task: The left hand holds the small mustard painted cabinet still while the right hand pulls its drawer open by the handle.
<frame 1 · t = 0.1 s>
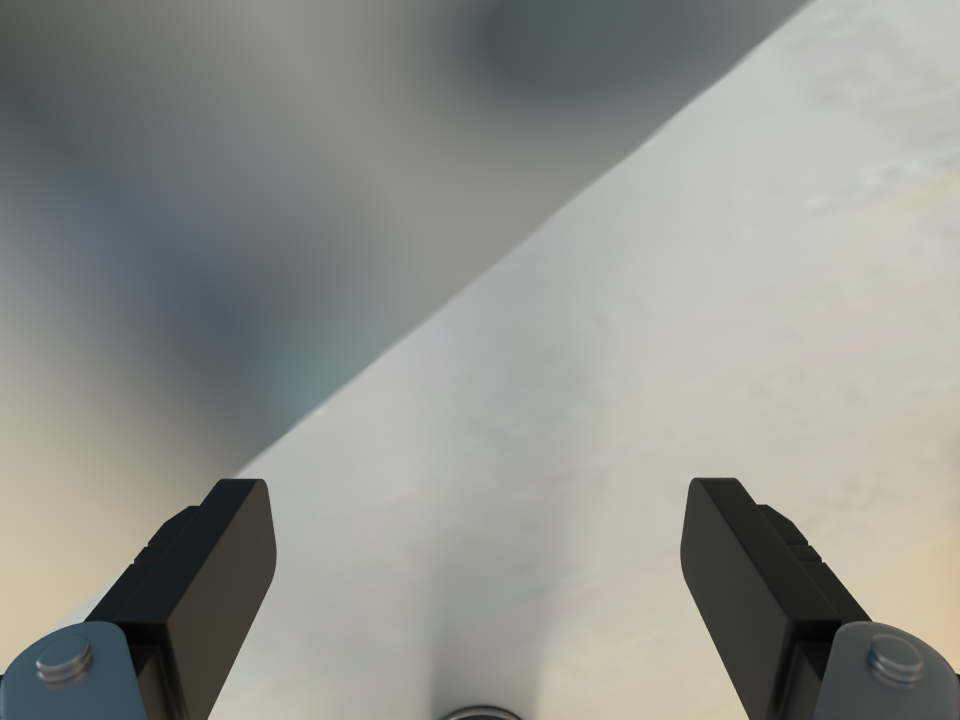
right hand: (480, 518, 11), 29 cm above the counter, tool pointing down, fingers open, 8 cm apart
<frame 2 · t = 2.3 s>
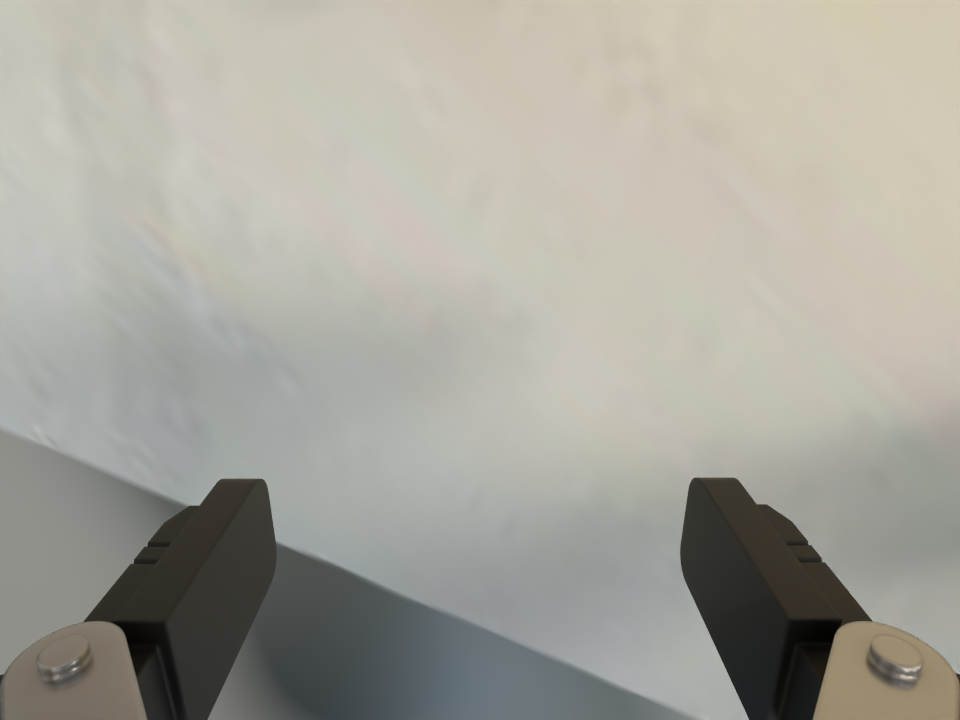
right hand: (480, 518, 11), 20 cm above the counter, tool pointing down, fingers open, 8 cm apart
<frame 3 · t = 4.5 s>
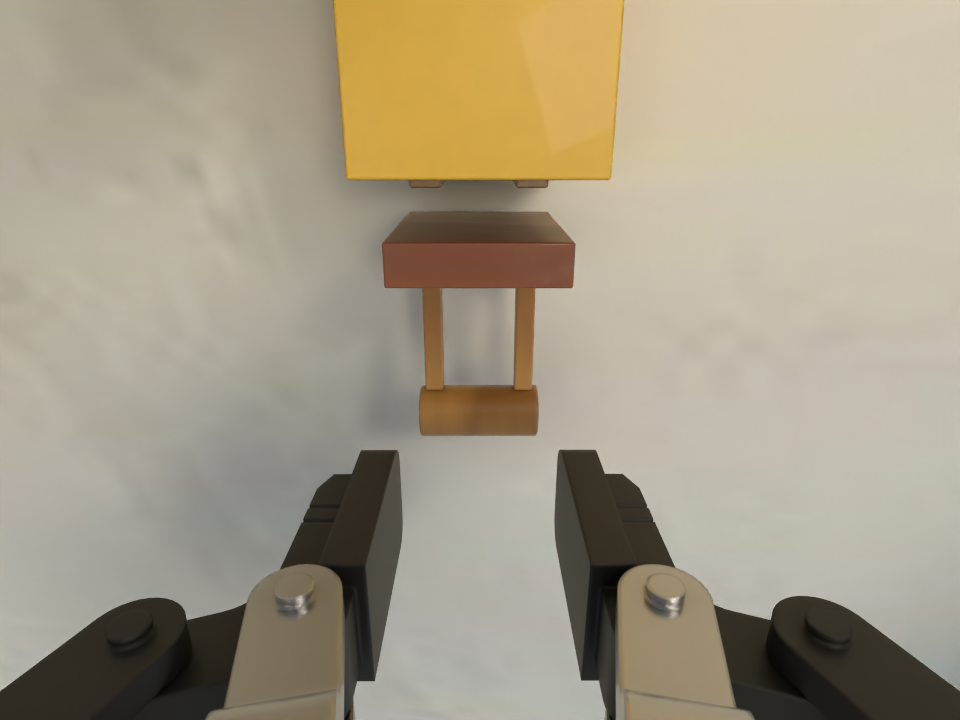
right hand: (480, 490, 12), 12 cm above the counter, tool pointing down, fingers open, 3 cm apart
drawer: (478, 77, 17), point 4 cm above the counter, slide at 1.6 cm
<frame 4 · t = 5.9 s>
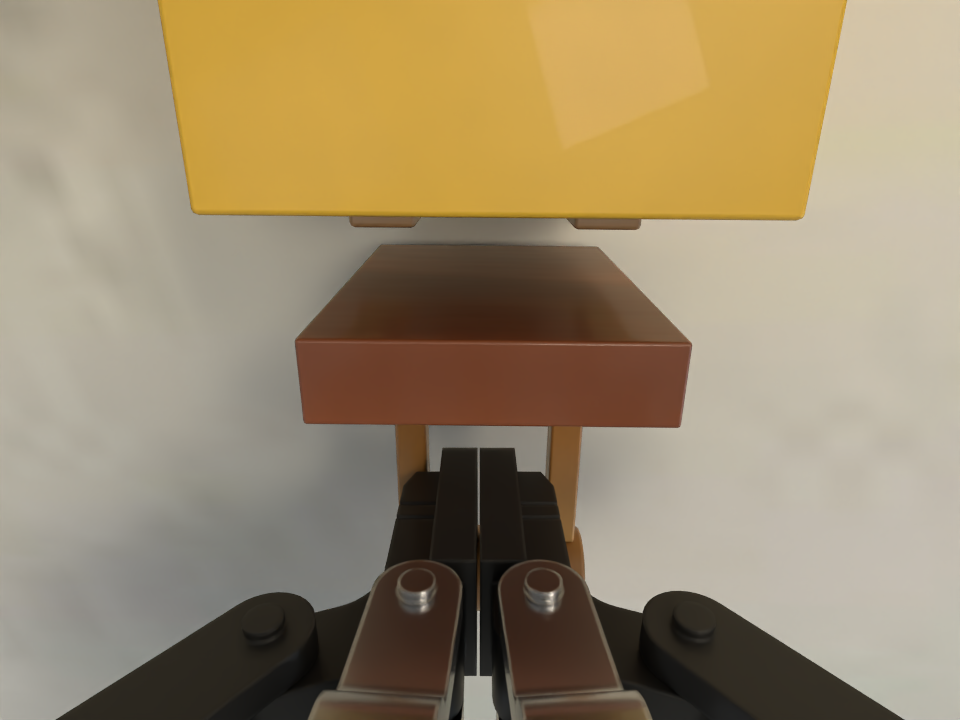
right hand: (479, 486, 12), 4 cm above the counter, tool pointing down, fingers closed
drawer: (494, 11, 9), point 4 cm above the counter, slide at 1.6 cm, touching right hand
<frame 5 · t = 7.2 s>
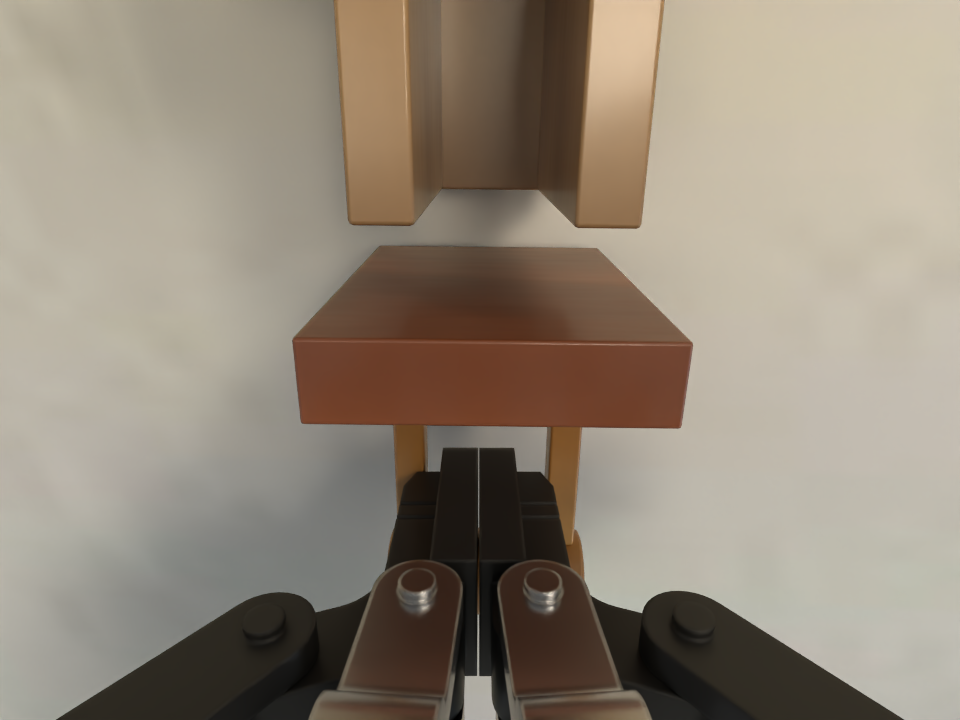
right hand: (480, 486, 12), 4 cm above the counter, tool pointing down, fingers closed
drawer: (494, 10, 9), point 4 cm above the counter, slide at 6.3 cm, touching right hand
when the left hand's fingers open (5 cm above the counter, at t = 8.7 s): cabinet stays where it is, on the counter.
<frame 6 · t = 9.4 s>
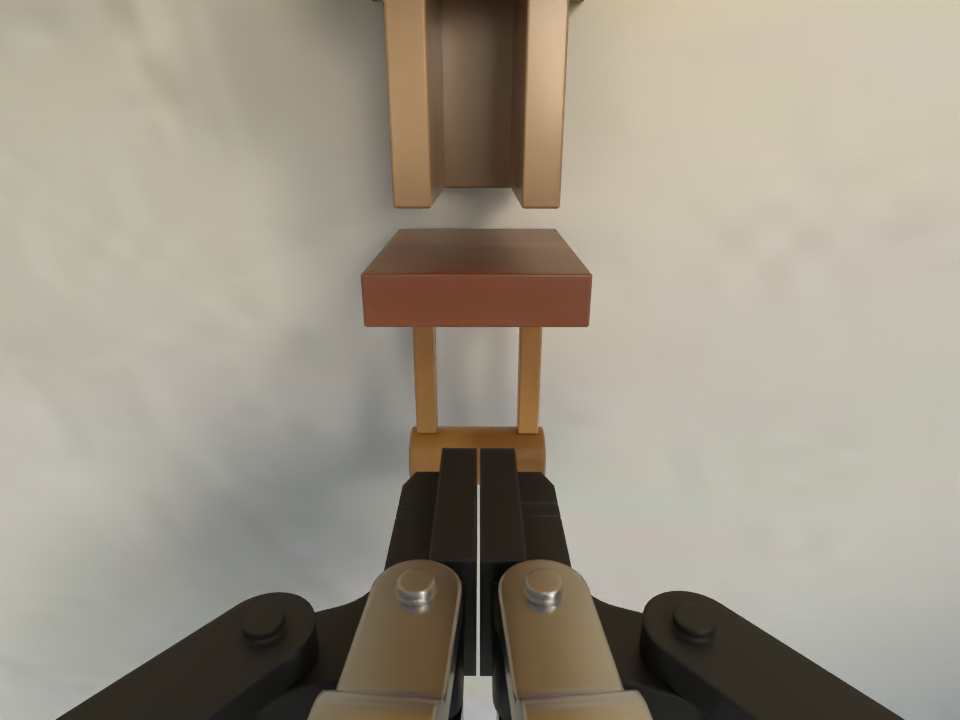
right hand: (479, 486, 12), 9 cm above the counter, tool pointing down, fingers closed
drawer: (477, 75, 14), point 4 cm above the counter, slide at 6.5 cm
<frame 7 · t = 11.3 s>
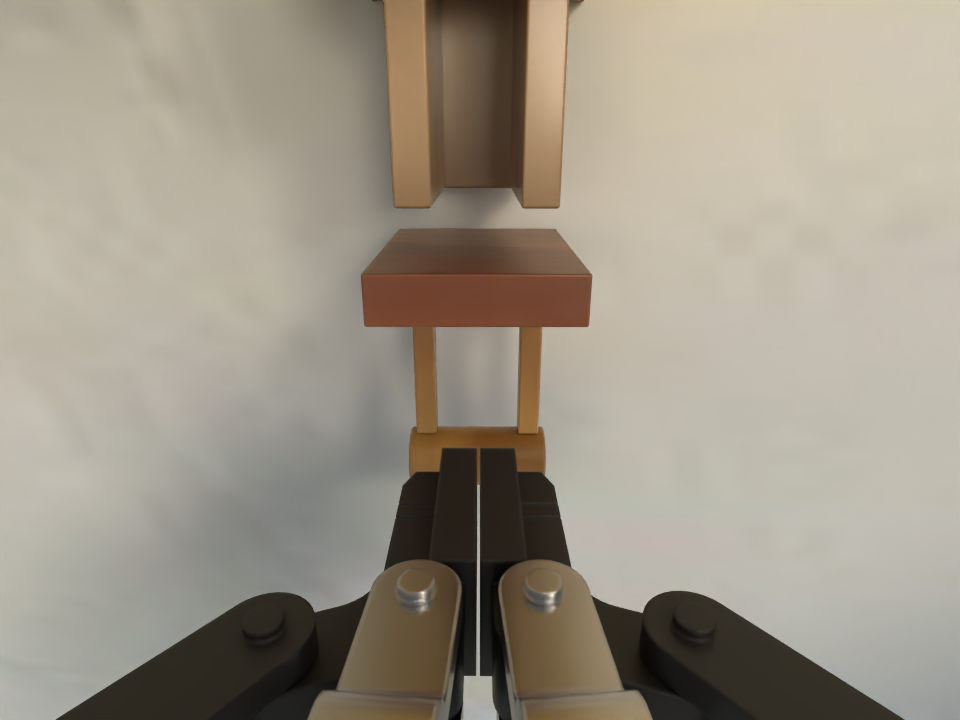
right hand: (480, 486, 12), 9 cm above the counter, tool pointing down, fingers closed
drawer: (477, 75, 14), point 4 cm above the counter, slide at 6.5 cm
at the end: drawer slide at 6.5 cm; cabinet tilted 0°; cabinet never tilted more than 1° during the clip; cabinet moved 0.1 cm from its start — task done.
